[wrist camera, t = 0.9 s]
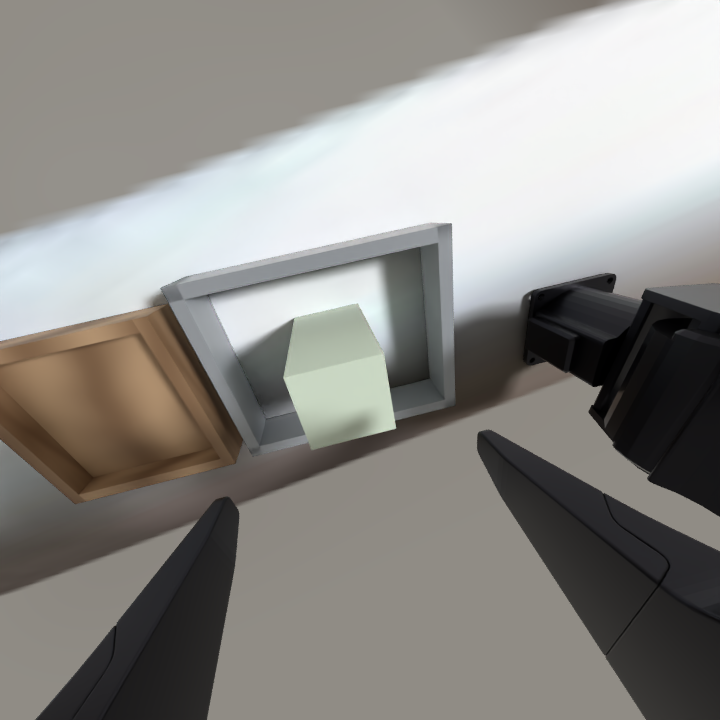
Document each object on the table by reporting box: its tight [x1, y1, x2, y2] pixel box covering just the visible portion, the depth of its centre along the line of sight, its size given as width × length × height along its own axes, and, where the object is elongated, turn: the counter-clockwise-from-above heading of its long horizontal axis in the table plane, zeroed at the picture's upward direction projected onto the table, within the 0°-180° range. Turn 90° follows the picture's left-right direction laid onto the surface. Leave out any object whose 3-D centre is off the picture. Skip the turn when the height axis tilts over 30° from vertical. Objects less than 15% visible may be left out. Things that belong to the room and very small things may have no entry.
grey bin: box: [161, 223, 455, 457], centre depth 19 cm, size 16×13×3 cm
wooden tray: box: [0, 304, 243, 504], centre depth 19 cm, size 12×12×2 cm
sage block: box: [283, 303, 396, 450], centre depth 16 cm, size 4×4×8 cm
